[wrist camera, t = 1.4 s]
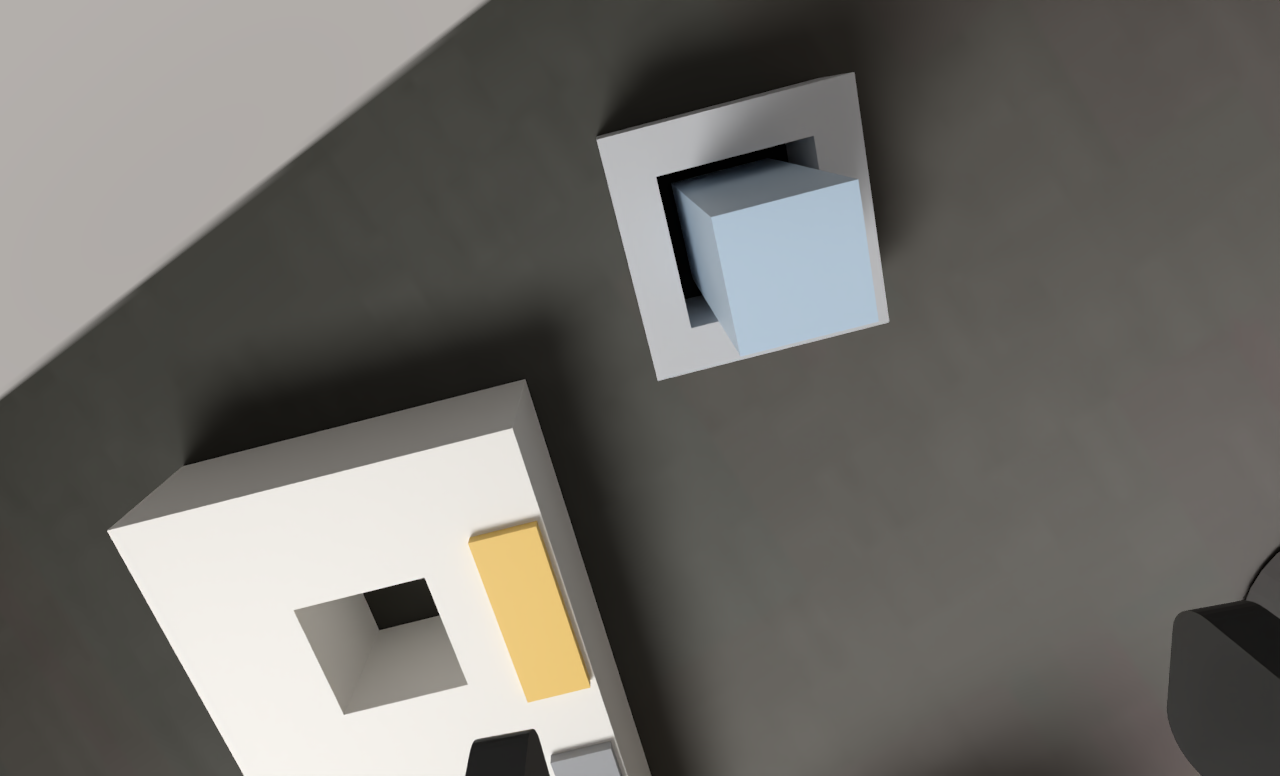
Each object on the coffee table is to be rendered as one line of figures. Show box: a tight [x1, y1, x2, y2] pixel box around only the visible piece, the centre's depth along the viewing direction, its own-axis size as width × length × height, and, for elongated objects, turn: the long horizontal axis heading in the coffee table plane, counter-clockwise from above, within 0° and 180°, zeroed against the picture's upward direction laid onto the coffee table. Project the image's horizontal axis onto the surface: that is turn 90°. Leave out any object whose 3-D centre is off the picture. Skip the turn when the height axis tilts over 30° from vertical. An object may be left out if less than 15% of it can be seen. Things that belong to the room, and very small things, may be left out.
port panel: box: [107, 379, 651, 776], centre depth 32 cm, size 14×24×5 cm, turn 14°
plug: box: [671, 158, 879, 357], centre depth 24 cm, size 4×4×10 cm
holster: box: [596, 72, 889, 381], centre depth 26 cm, size 8×8×4 cm
